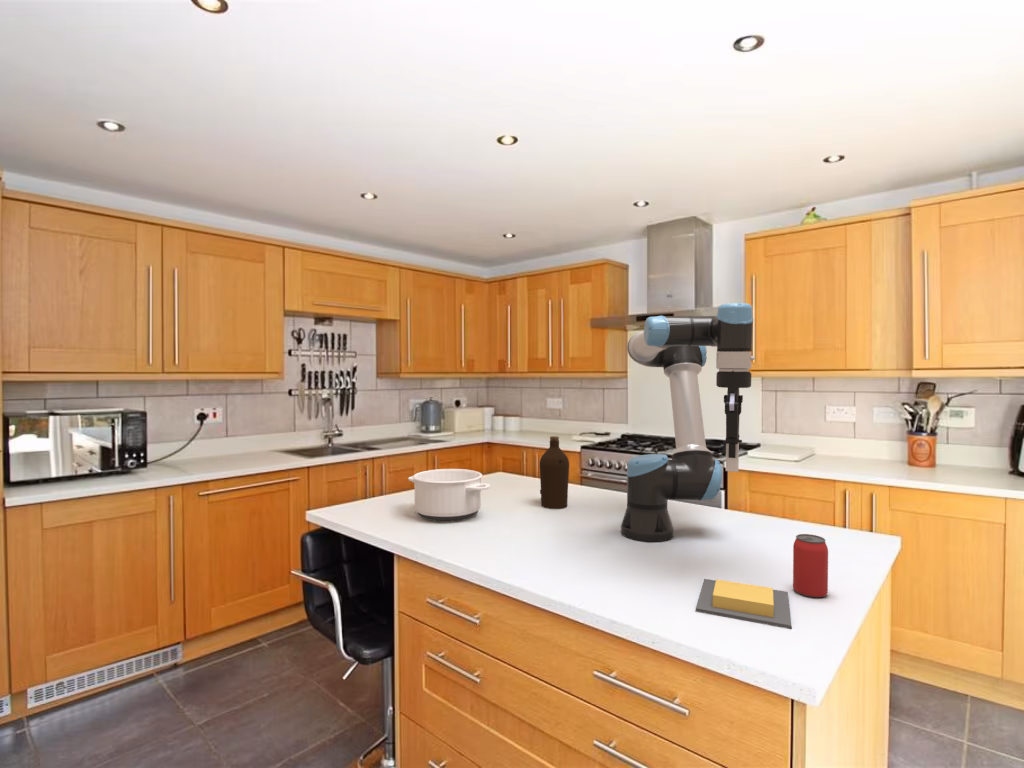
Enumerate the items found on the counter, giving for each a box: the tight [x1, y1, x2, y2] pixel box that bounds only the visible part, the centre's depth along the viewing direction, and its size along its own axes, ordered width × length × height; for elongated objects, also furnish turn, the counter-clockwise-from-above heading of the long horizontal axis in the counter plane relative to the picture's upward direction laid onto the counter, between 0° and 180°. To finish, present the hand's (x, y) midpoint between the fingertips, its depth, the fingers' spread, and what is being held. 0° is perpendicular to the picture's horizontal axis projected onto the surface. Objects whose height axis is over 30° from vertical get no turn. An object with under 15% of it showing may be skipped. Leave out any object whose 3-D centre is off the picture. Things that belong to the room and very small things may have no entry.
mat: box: [695, 578, 793, 630], centre depth 110 cm, size 17×17×1 cm
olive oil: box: [539, 435, 570, 510], centre depth 191 cm, size 11×11×25 cm
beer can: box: [792, 533, 829, 599], centre depth 115 cm, size 7×7×12 cm
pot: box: [407, 468, 492, 523], centre depth 178 cm, size 33×23×14 cm
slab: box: [713, 579, 774, 618], centre depth 108 cm, size 11×2×9 cm
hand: (731, 470), depth 124 cm, fingers closed
